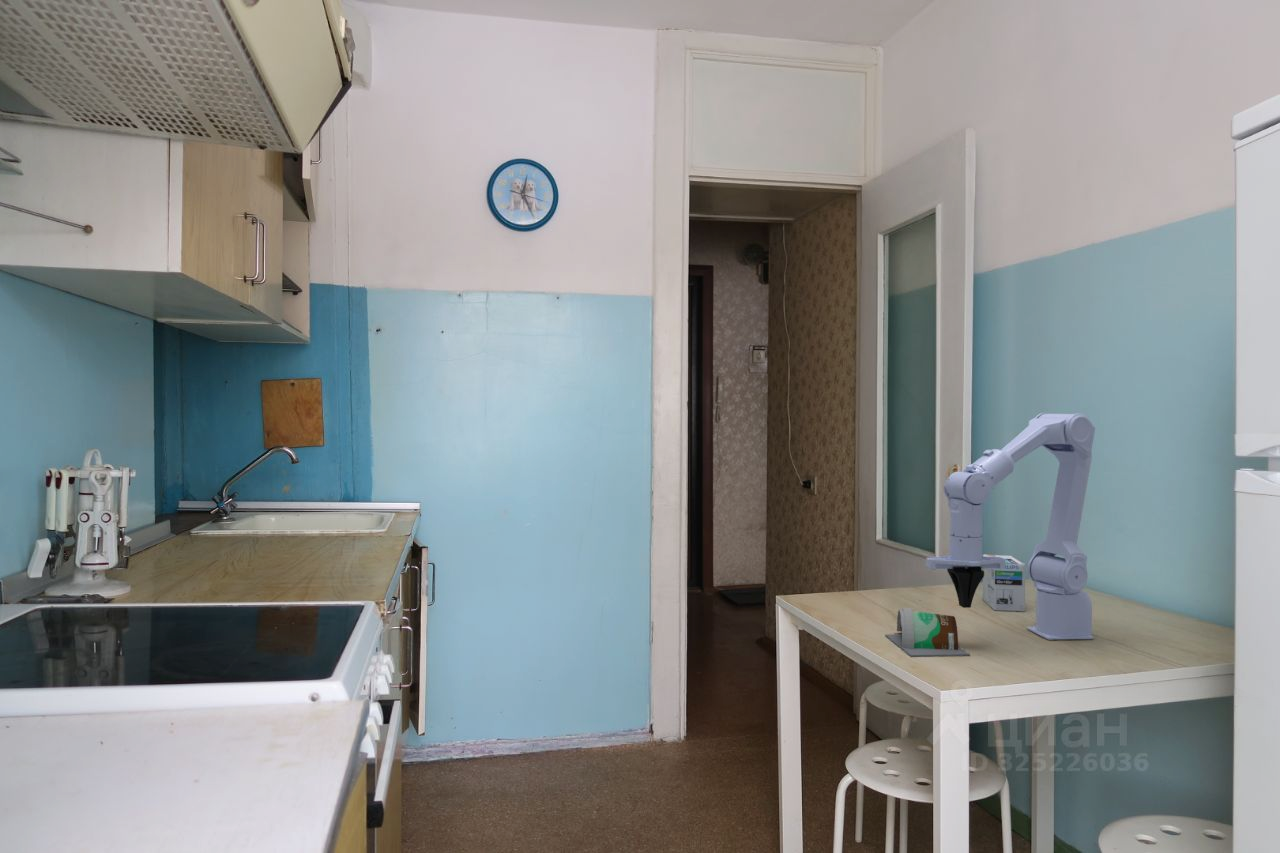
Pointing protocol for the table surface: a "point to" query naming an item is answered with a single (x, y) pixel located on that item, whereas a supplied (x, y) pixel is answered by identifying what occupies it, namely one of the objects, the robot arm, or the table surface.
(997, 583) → the light bulb box
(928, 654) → the mat
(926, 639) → the food container
